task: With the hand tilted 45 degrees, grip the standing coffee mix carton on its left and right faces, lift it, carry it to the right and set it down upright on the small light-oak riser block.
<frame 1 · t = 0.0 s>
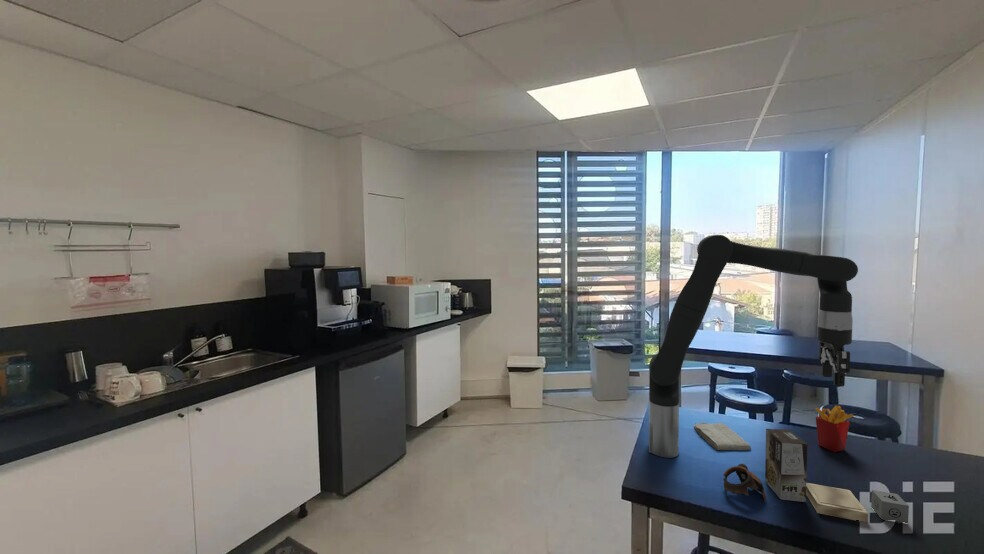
hand: (832, 381, 114), 29 cm above the table, tool pointing down, fingers open, 8 cm apart
dice cube: (888, 517, 99), on the table
french fries: (836, 449, 132), on the table
pottery mug: (744, 493, 110), on the table
washcloth: (720, 440, 141), on the table
coffee box: (784, 491, 110), on the table
riser: (833, 505, 103), on the table
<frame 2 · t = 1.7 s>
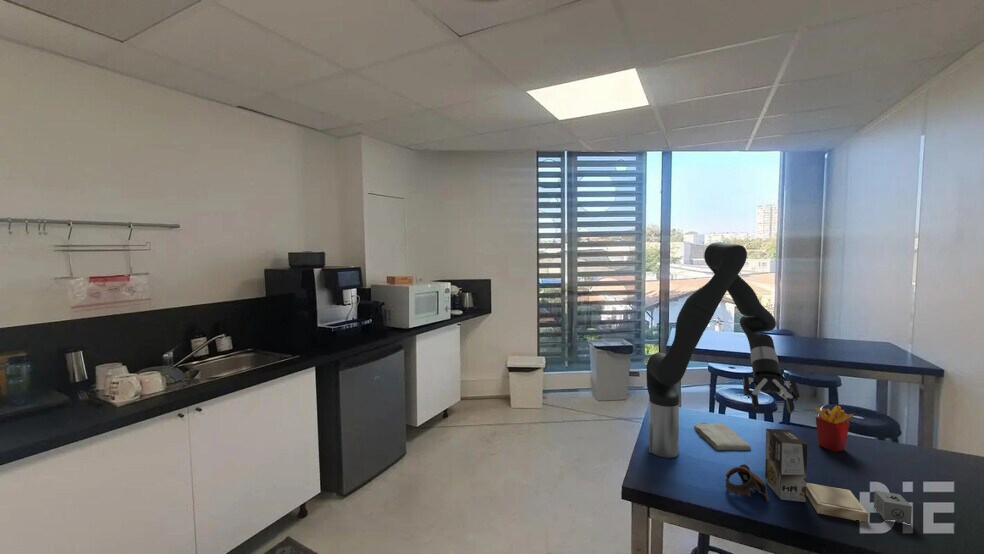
hand: (773, 410, 120), 19 cm above the table, tool tilted 45°, fingers open, 8 cm apart
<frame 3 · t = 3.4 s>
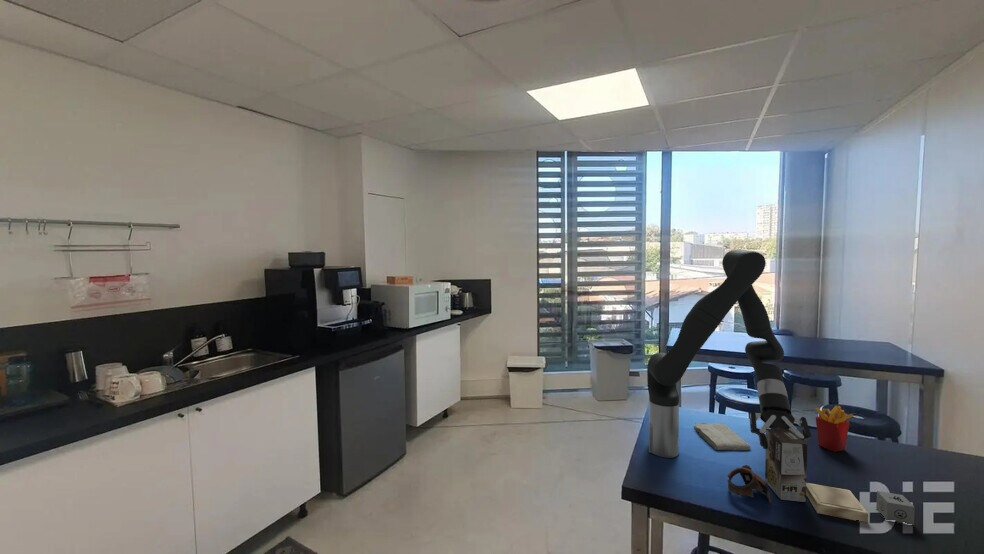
hand: (783, 450, 111), 11 cm above the table, tool tilted 45°, fingers open, 8 cm apart
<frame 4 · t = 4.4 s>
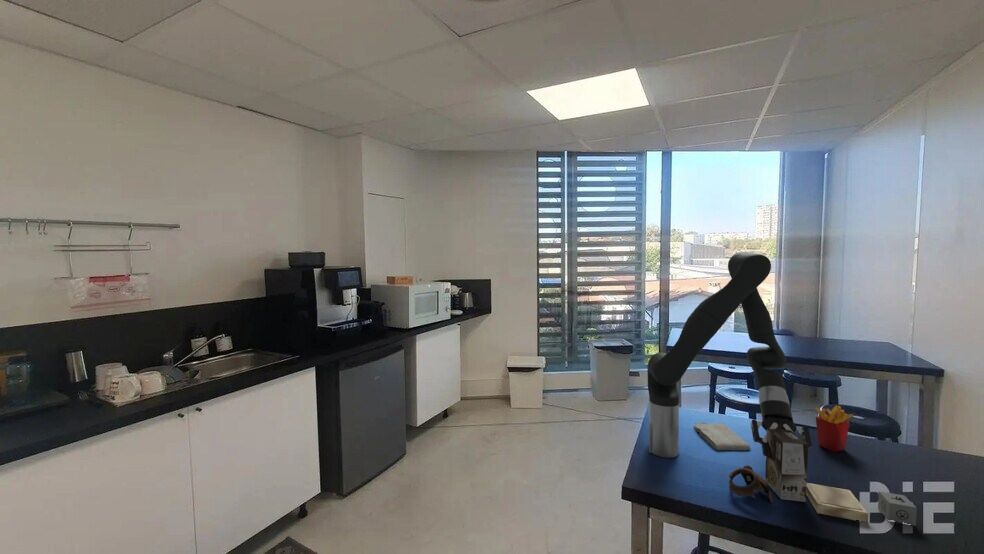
hand: (785, 460, 109), 9 cm above the table, tool tilted 45°, fingers closed on coffee box, 7 cm apart
coffee box: (784, 491, 110), on the table, touching gripper
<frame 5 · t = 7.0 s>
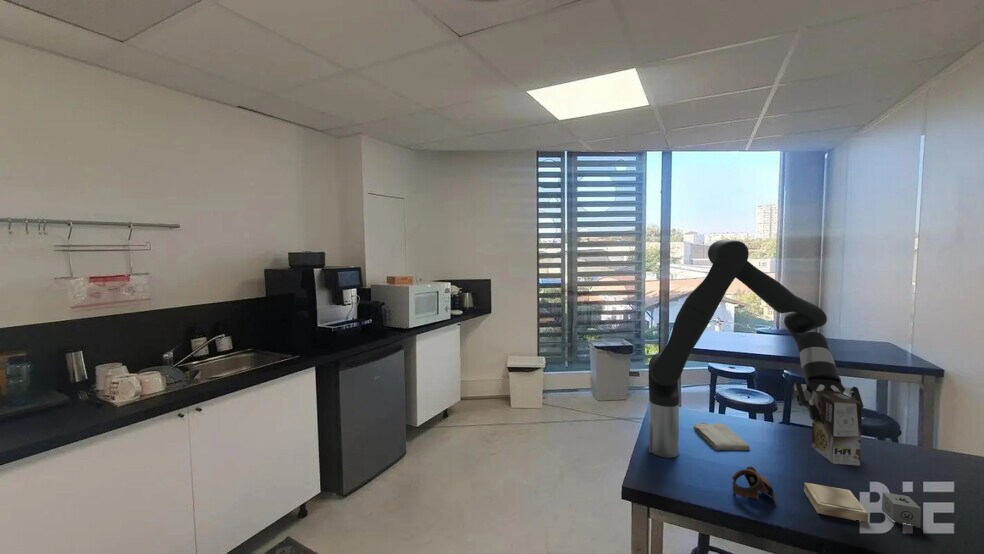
hand: (835, 422, 102), 22 cm above the table, tool tilted 45°, fingers closed on coffee box, 7 cm apart
coffee box: (834, 456, 103), point 13 cm above the table, touching gripper
when the fingers open (12 cm above the table, at t = 9.5 s): coffee box stays where it is, resting on riser.
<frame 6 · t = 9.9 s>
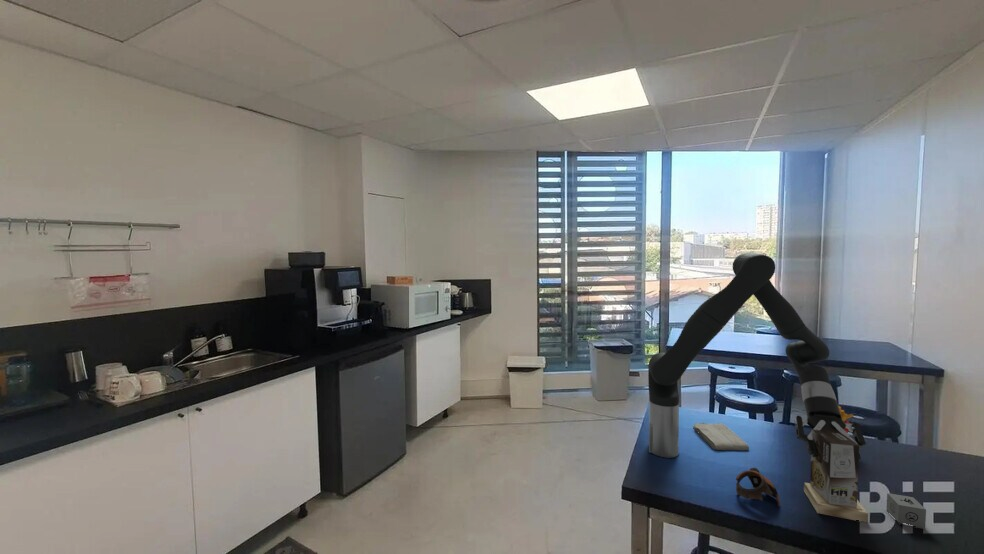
hand: (835, 459, 102), 13 cm above the table, tool tilted 45°, fingers open, 8 cm apart
coffee box: (832, 496, 103), point 2 cm above the table, touching riser
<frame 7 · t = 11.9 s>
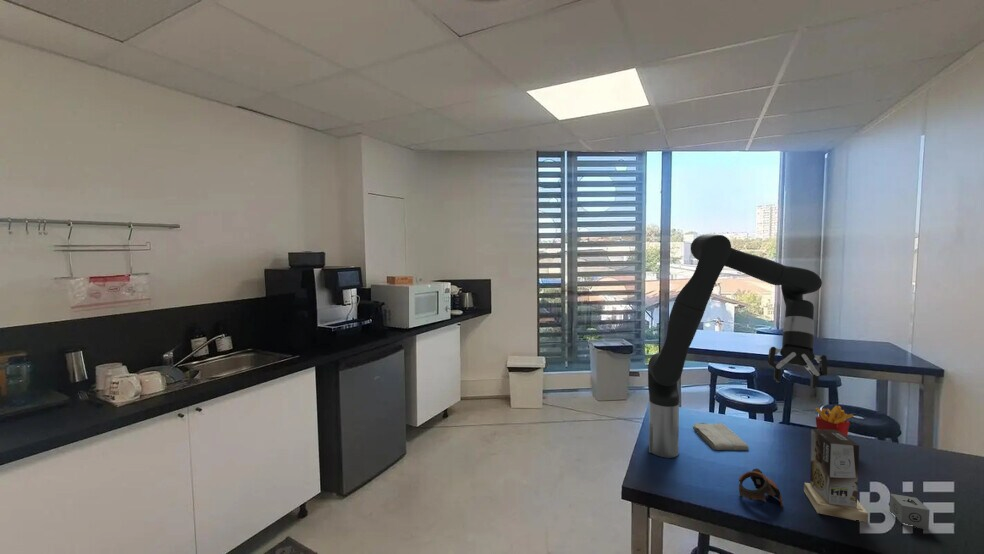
hand: (795, 385, 117), 27 cm above the table, tool tilted 25°, fingers open, 8 cm apart
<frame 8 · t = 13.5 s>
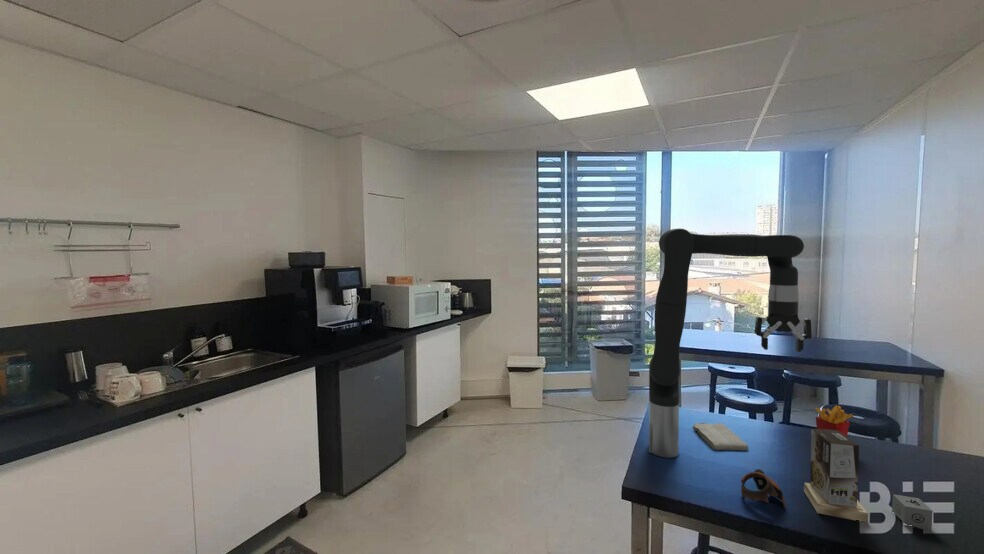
hand: (781, 350, 123), 36 cm above the table, tool pointing down, fingers open, 8 cm apart
at the end: coffee box 0.4 cm from the riser (horizontally); coffee box tilted 0°; coffee box touching riser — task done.
